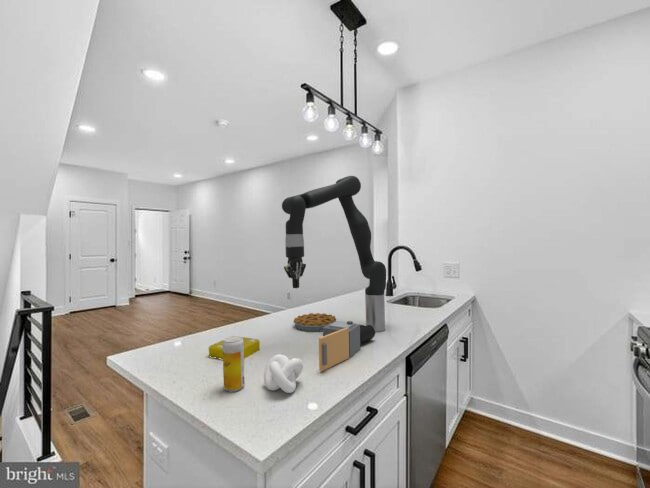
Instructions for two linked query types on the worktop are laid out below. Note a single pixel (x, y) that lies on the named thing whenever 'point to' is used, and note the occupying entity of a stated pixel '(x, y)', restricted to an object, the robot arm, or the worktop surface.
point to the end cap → (366, 333)
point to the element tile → (249, 344)
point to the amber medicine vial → (233, 363)
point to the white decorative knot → (282, 373)
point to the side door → (333, 348)
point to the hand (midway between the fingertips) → (295, 287)
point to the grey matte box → (353, 334)
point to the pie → (313, 321)
